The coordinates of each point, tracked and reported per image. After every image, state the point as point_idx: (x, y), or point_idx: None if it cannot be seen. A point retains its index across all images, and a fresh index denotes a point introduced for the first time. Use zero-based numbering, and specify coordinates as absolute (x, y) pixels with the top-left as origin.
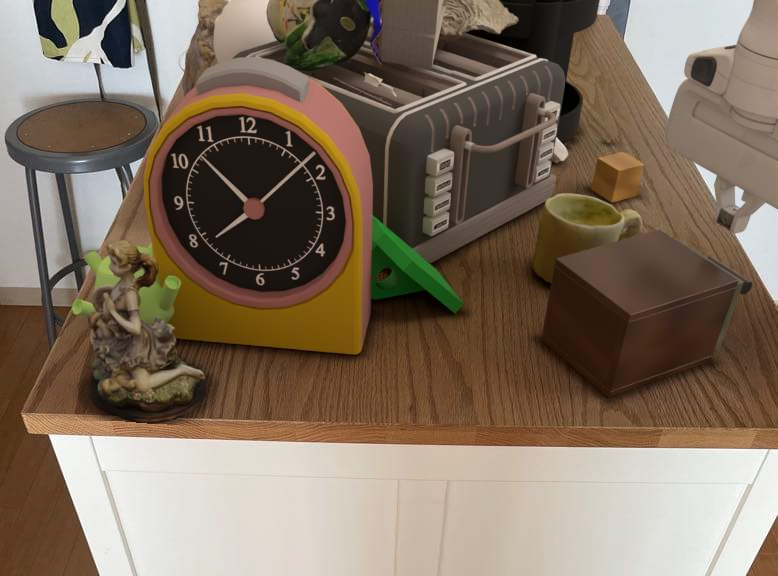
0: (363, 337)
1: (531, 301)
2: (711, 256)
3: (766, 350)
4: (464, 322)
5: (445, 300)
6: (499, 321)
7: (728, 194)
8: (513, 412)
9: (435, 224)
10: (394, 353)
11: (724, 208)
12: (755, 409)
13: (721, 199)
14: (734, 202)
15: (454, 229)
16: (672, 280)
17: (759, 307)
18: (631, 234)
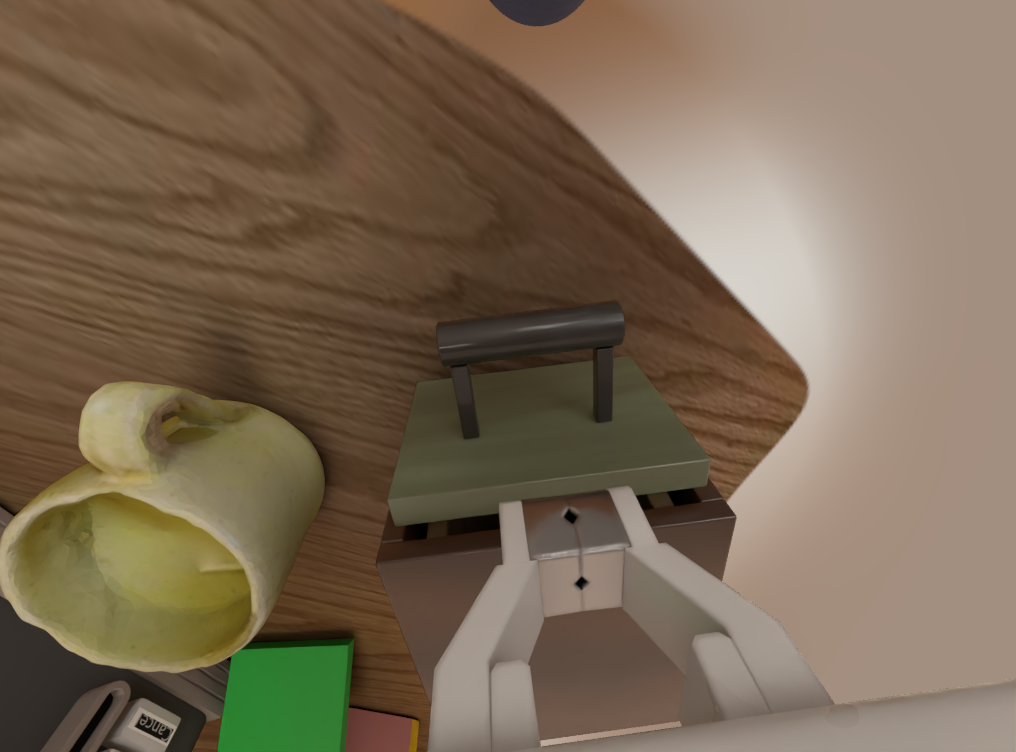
0: (396, 725)
1: (339, 548)
2: (441, 344)
3: (666, 233)
4: (378, 631)
5: (349, 676)
6: (388, 599)
7: (519, 646)
8: None
9: (162, 741)
10: None
11: (549, 609)
12: (779, 382)
13: (528, 658)
14: (534, 571)
15: None
16: (638, 636)
17: (504, 96)
18: (180, 409)
